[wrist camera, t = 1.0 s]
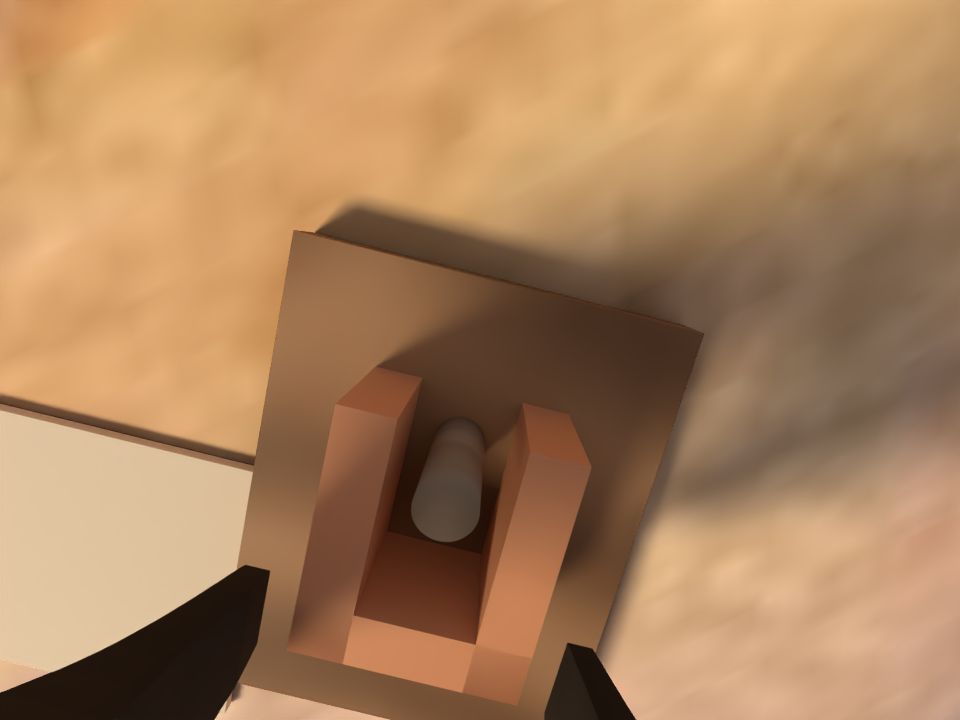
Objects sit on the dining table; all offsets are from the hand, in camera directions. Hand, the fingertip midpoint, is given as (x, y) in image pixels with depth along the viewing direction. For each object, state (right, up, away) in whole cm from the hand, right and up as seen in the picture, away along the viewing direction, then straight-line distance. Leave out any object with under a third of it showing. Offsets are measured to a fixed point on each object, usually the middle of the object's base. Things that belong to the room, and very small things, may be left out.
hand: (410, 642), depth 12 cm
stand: (+1, +2, +4) cm, 5 cm away
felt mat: (-10, 0, +5) cm, 12 cm away
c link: (+1, +3, +3) cm, 4 cm away
